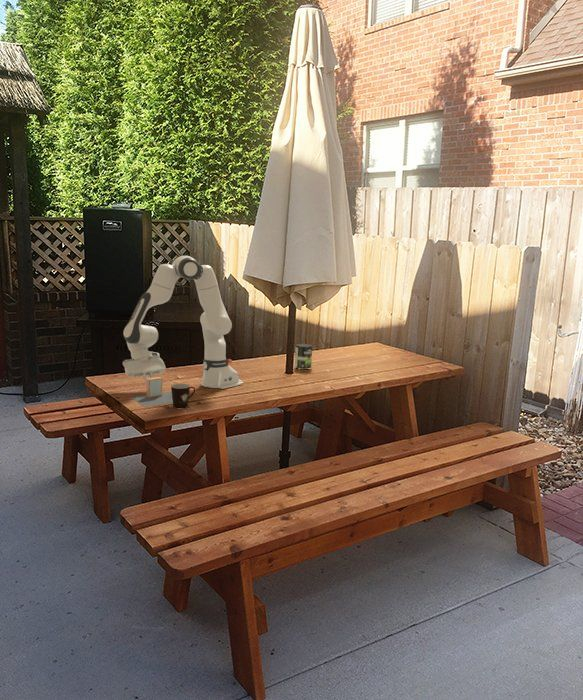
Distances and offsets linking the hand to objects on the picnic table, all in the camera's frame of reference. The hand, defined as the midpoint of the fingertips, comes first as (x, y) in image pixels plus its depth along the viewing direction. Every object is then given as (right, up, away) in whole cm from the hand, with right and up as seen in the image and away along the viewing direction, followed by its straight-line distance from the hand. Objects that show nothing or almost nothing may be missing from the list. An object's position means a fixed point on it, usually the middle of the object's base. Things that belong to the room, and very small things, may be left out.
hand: (149, 381), depth 314 cm
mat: (+6, -8, -7) cm, 12 cm away
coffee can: (+77, +5, +69) cm, 104 cm away
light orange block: (+3, -7, -3) cm, 8 cm away
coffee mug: (+19, -11, -16) cm, 28 cm away
